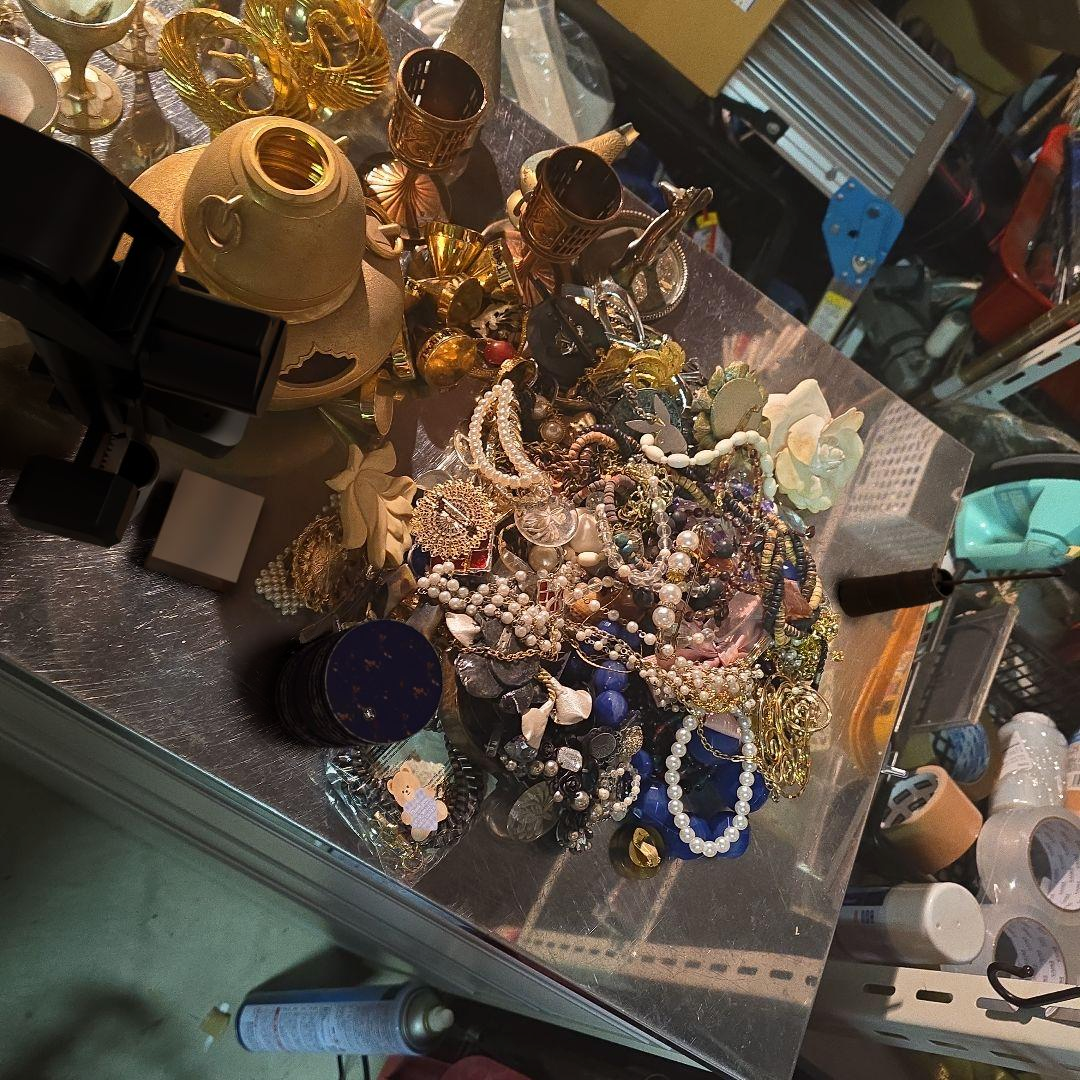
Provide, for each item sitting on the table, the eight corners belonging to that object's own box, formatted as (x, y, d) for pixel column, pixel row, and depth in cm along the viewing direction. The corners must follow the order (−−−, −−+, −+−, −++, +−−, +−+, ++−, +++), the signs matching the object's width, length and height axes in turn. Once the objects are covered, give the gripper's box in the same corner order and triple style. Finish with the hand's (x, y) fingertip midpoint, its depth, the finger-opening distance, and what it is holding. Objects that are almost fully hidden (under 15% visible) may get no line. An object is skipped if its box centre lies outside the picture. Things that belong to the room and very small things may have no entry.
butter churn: (810, 575, 116) (1013, 527, 93) (852, 548, 121) (1054, 495, 98) (840, 639, 116) (1049, 607, 93) (880, 609, 122) (1088, 571, 98)
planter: (152, 486, 78) (170, 450, 69) (130, 532, 76) (146, 502, 67) (99, 463, 76) (110, 424, 67) (75, 510, 74) (84, 476, 66)
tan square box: (143, 567, 76) (150, 556, 72) (174, 483, 79) (183, 467, 75) (224, 593, 79) (236, 583, 75) (252, 511, 82) (265, 497, 77)
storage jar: (308, 620, 82) (361, 593, 69) (397, 671, 85) (464, 654, 73) (253, 718, 78) (299, 709, 65) (349, 768, 81) (411, 768, 68)
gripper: (183, 530, 48) (211, 599, 62) (285, 250, 54) (288, 371, 69) (-37, 473, 46) (44, 558, 60) (96, 190, 52) (140, 327, 67)
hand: (139, 449), depth 64 cm, fingers open, 9 cm apart
